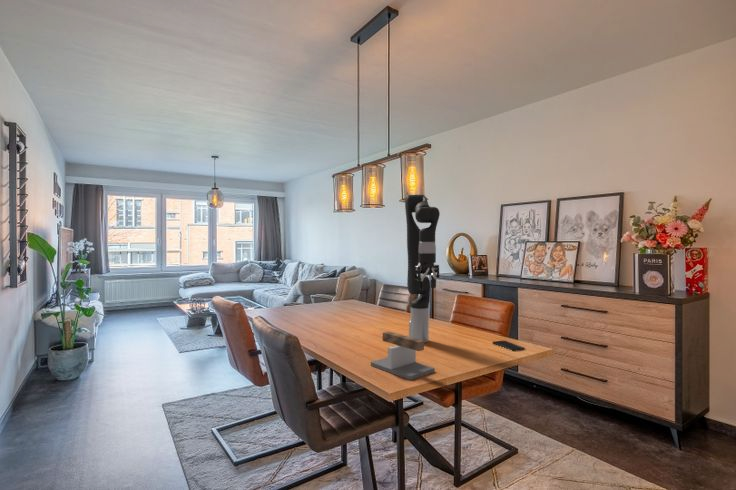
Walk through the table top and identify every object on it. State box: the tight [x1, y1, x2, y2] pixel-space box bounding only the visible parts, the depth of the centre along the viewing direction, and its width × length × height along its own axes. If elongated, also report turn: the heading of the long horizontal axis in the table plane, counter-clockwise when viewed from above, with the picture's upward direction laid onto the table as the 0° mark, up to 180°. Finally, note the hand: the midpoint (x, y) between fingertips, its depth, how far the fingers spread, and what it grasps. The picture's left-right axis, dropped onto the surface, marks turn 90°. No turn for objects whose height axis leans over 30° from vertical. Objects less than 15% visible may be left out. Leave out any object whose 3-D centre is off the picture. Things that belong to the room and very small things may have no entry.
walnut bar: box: [382, 331, 425, 352], centre depth 156 cm, size 20×3×4 cm, turn 41°
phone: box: [492, 340, 526, 352], centre depth 190 cm, size 8×1×15 cm
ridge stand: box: [370, 345, 436, 381], centre depth 156 cm, size 22×14×10 cm, turn 41°
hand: (427, 288), depth 172 cm, fingers open, 8 cm apart
